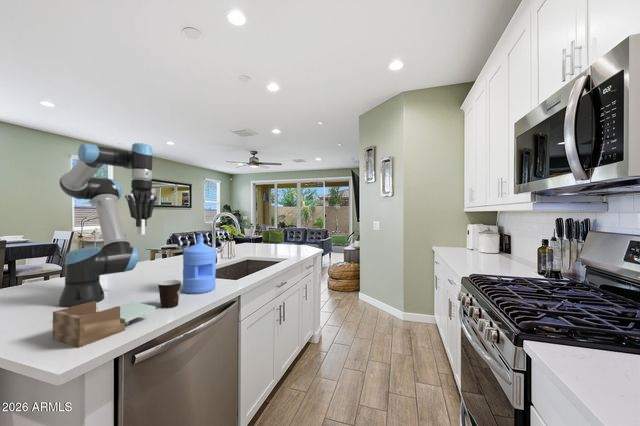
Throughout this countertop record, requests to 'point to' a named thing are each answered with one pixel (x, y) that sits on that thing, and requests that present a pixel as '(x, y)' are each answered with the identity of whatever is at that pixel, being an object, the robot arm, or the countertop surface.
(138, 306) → the cabinet door
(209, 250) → the water jug
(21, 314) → the countertop surface
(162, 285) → the coffee mug
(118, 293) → the countertop surface
